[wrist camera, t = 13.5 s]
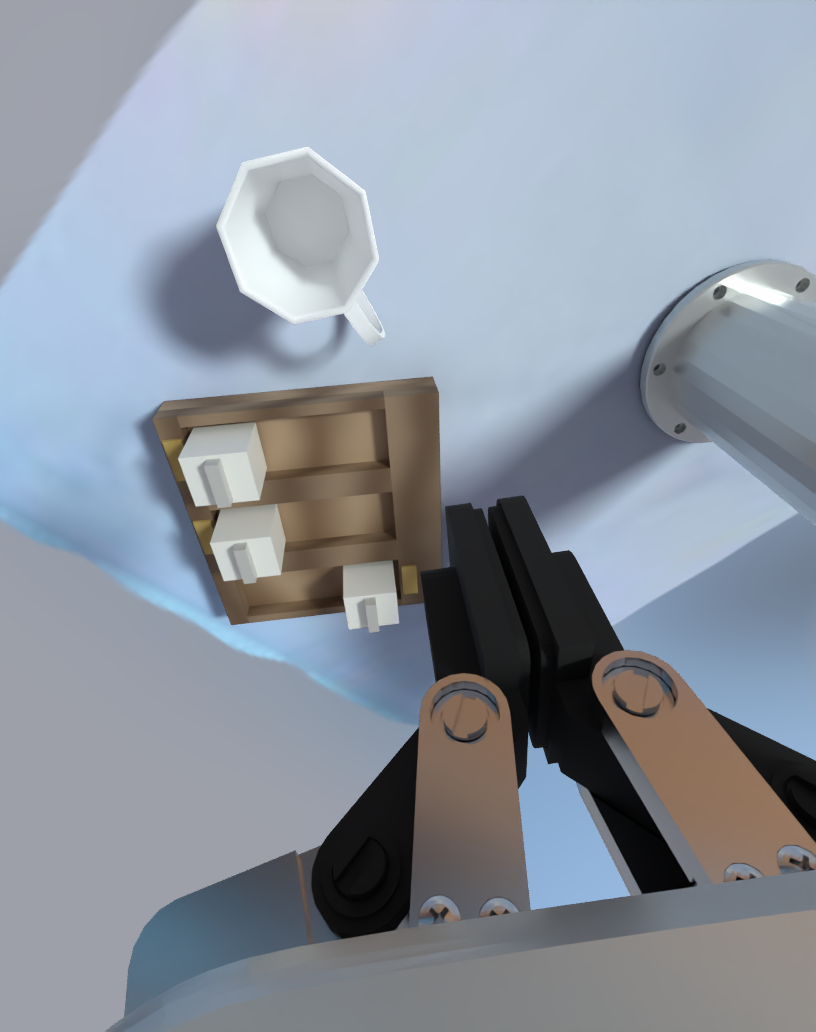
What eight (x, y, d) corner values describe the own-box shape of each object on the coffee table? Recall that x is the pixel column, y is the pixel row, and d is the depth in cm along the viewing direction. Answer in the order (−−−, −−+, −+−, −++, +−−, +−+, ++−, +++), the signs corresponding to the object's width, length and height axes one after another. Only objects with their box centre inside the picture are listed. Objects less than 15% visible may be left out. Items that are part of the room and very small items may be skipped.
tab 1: (255, 421, 34) (244, 458, 30) (266, 467, 36) (258, 507, 32) (193, 427, 34) (174, 465, 30) (208, 473, 36) (192, 514, 32)
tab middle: (276, 502, 38) (269, 544, 34) (285, 539, 40) (279, 582, 36) (221, 508, 37) (207, 550, 34) (233, 545, 40) (221, 589, 36)
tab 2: (392, 557, 42) (397, 599, 38) (395, 588, 44) (400, 631, 40) (343, 562, 42) (343, 605, 38) (348, 593, 44) (349, 637, 40)
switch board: (432, 376, 35) (439, 393, 33) (438, 579, 46) (442, 602, 44) (164, 401, 34) (151, 420, 32) (236, 601, 45) (230, 626, 43)
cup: (318, 109, 26) (311, 100, 20) (422, 283, 32) (443, 322, 25) (216, 199, 28) (178, 218, 21) (331, 349, 33) (329, 401, 27)
